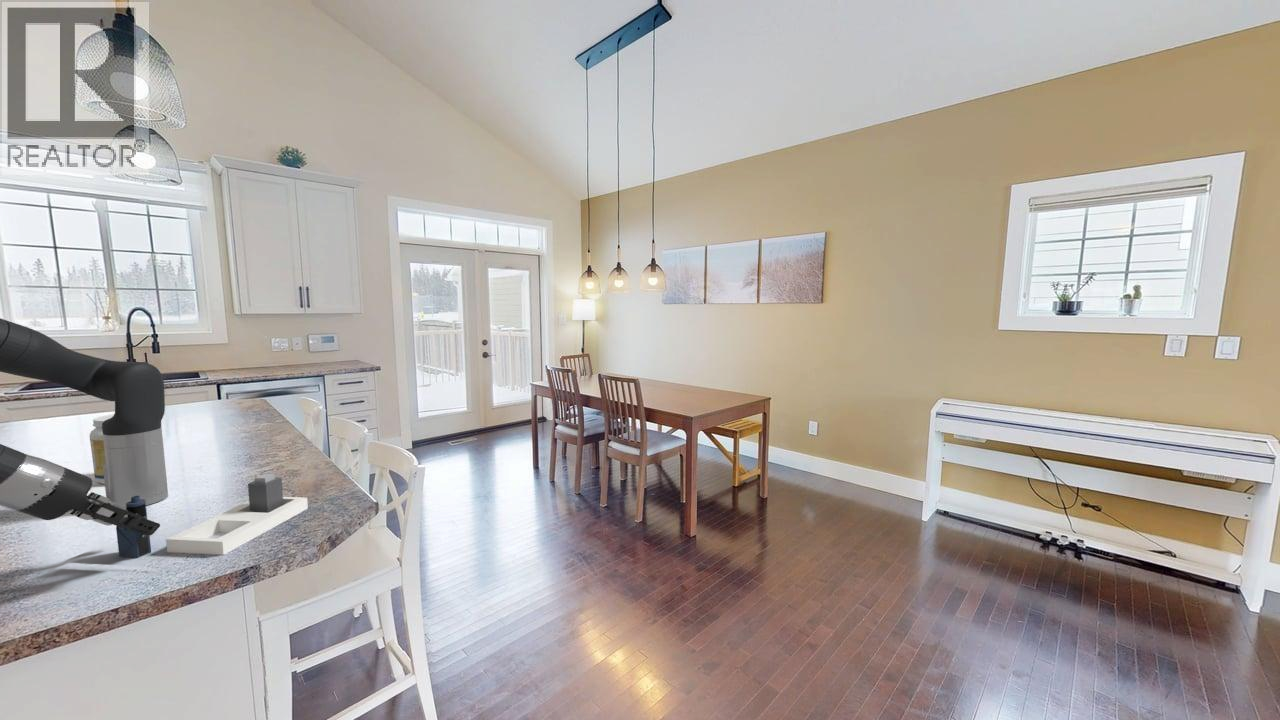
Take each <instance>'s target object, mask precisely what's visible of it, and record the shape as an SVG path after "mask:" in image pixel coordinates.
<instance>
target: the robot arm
mask: <svg viewBox="0 0 1280 720" xmlns="http://www.w3.org/2000/svg"><path fill="white" fill-rule="evenodd" d="M0 373H5V374H7V375H13V376H17V377H22V378H28V379H33V380H38V381H45V382H49V383H53V384H57V385H61V386H64V387H65V388H70V389H72V390H74V391H77V392H81V393H84V394H86V395H90V396H91V397H94V398H97V399H100V400H104V401H108V402H114V413H113V414H114V416H113V417H112V418H110V419H107V420H105V421H104V422H103V423H102V432H103V441H104V449H105V458H106V465H104V466H103V473H104V482H105V484H104V489H105V496H104V495H101V494H99V493H96V492H93V491H91V490H92V487H93V479H92V478H91V477H90V476H87V475H85V474H82V473H79V472H77V471H74V470H72V469H69V468H67V467H64V466H63V465H59V464H58V463H55V462H52V461H49V460H46V459H44V458H41V457H38V456H34V455H30V454H27V453H25V452H22V451H19V450H17V449H14V448H11V447H10V446H7V445H4V444H2V443H0V507H3V508H7V509H10V510H12V511H15V512H19V513H22V514H24V515H28V516H31V517H35V518H38V519H41V520H44V521H52V520H53V521H54V520H56V519H58V518H60V517H62V516H64V515H65V514H66V513H68V512H69V513H68V514H70V515H72V516H74V517H77V518H79V519H82V520H85V521H93V522H96V523H98V524H102V525H105V526H112V525H114V526H115V527H116V526H119V527H122V528H123V529H124V530H127V529H128V530H130V529H131V530H134V531H137V532H140V533H143V534H145V535H148V536H150V537H151V536H152V535H154V534H155V532H157V531H158V529H159V528H160V527H161V524H160V523H158V522H155V521H154V520H151V519H148V518H147V519H145V518H143V517H142V516H140V515H139V514H137V513H136V514H134V513H131V512H129V511H127V507H126V503H128V502H130V501H131V497H133V496H140V499H145V502H146V503H145V504H146V506H149V505H153V504H155V503H158V502H161V501H163V500H165V499H167V498H168V497H169V490H168V478H167V470H166V458H165V448H164V447H165V446H164V439H163V427H162V420H163V418H164V415H165V412H166V410H165V409H166V406H165V405H166V402H165V399H166V397H165V396H166V395H165V382H164V377H163V374H162V372H161V371H160V370H159V368H158V367H156V366H155V365H153V364H150V363H147V362H138V361H120V360H119V361H117V360H110V359H104V358H100V357H96V356H92V355H88V354H84V353H82V352H77V351H74V350H72V349H71V348H70V349H69V348H68V347H66V346H64V345H63V344H61V343H60V342H57V341H56V340H55V339H53V338H52V337H50V336H48V335H47V334H44V333H42V332H40V331H37V330H35V329H33V328H31V327H27V326H25V325H21V324H19V323H16V322H12V321H9V320H7V319H4V318H0ZM89 491H91V492H90V493H89ZM125 515H130V517H129V518H128V519H127V520H126V521H125V522H124V523H123V524H122V523H119V521H120V520H121V519H122V518H123V517H124V516H125Z"/></svg>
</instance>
